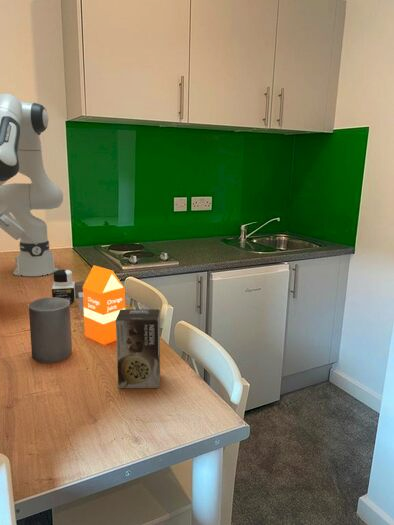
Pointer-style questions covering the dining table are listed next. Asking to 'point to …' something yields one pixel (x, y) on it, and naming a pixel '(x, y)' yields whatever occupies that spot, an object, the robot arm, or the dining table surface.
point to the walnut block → (79, 287)
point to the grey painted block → (81, 301)
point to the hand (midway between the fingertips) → (30, 241)
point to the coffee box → (138, 348)
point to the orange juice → (102, 304)
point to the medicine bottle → (64, 286)
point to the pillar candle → (50, 329)
